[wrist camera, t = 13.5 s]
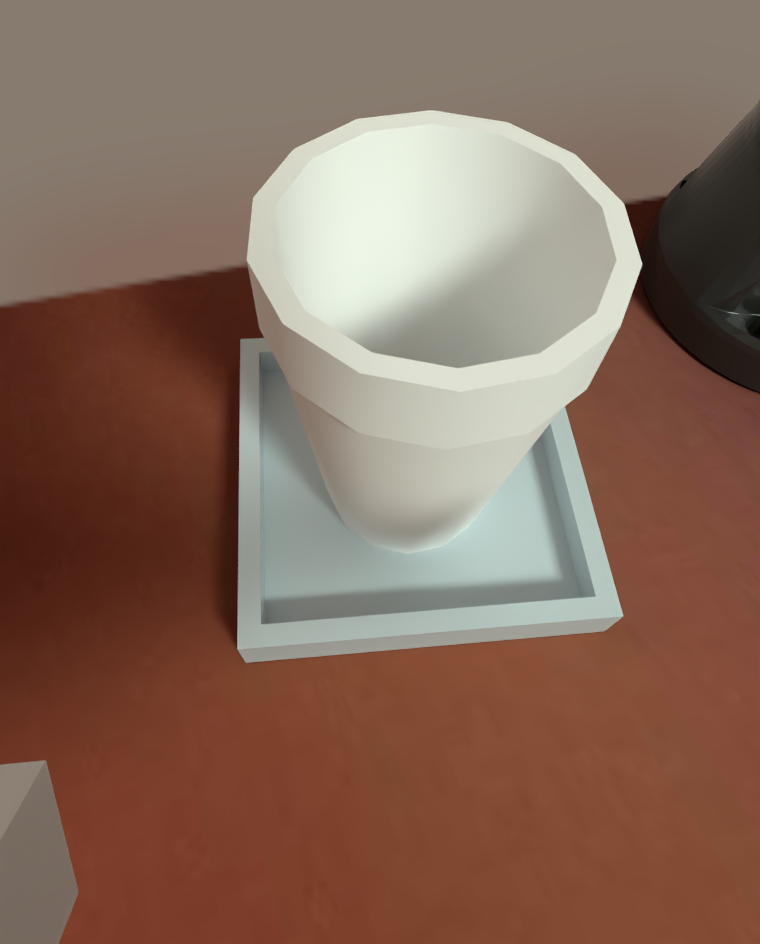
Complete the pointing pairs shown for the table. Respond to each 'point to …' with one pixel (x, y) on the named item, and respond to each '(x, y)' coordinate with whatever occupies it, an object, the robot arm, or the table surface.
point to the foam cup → (434, 308)
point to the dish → (399, 574)
